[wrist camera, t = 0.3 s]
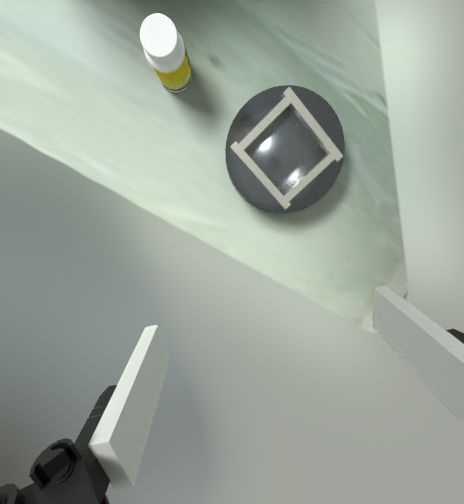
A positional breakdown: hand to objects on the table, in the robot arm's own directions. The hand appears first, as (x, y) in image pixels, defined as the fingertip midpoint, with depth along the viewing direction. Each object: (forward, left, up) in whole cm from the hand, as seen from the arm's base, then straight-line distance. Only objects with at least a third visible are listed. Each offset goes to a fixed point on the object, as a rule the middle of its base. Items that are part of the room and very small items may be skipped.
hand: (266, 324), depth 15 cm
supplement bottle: (-25, -4, -26) cm, 36 cm away
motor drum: (-11, +8, -25) cm, 29 cm away
